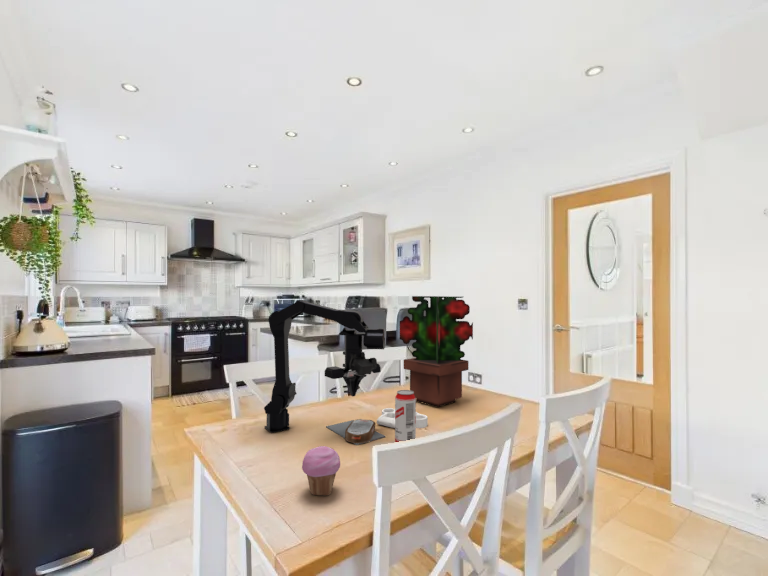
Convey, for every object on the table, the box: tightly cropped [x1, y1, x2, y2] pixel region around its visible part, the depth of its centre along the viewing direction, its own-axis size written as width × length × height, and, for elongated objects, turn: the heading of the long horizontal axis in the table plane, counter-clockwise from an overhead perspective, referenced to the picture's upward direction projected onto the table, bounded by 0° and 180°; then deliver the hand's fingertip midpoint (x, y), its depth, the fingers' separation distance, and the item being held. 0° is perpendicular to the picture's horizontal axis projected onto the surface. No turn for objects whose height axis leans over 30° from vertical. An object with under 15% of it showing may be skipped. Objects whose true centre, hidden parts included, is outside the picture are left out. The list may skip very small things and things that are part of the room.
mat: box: [325, 419, 386, 446], centre depth 123 cm, size 11×19×1 cm, turn 37°
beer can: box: [394, 389, 417, 443], centre depth 113 cm, size 6×6×16 cm
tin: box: [344, 418, 376, 444], centre depth 121 cm, size 15×3×8 cm
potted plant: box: [399, 295, 474, 408], centre depth 161 cm, size 22×22×45 cm
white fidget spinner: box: [376, 407, 429, 429], centre depth 133 cm, size 3×18×15 cm
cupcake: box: [301, 445, 341, 496], centre depth 86 cm, size 9×9×10 cm
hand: (353, 396), depth 124 cm, fingers closed
